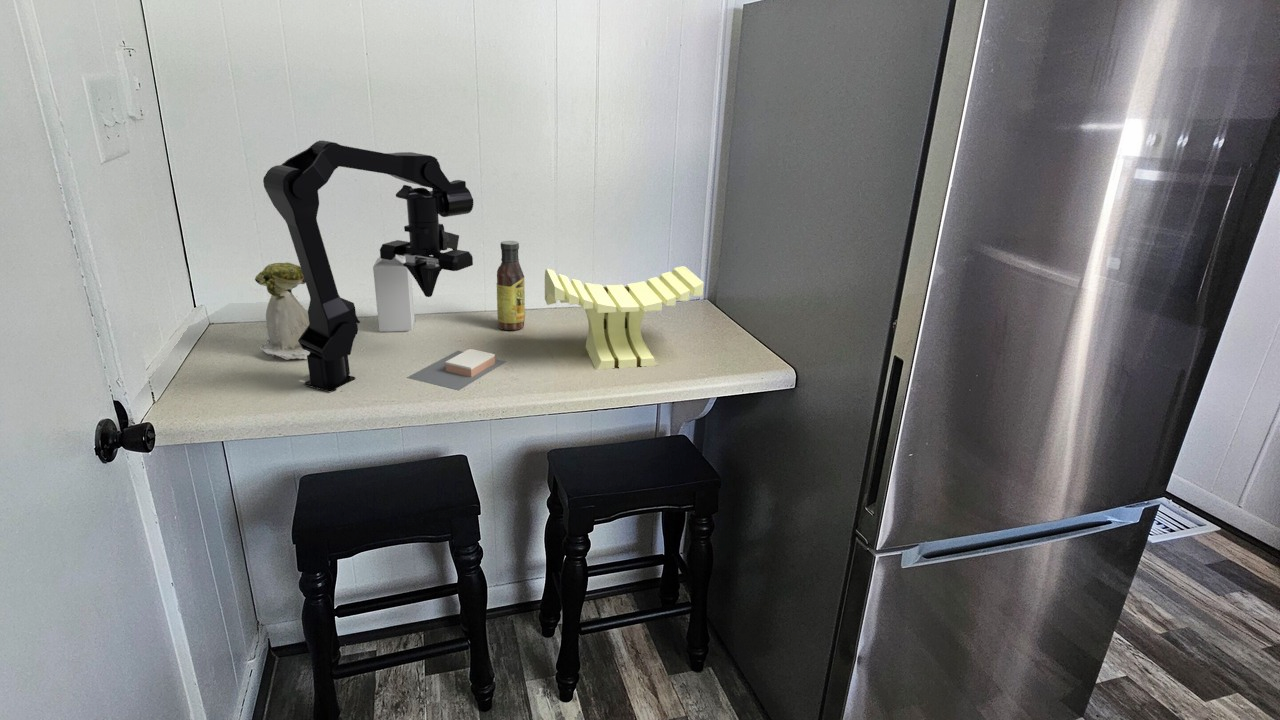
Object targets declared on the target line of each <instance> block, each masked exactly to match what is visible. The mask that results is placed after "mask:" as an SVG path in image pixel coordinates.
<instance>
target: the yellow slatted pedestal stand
mask: <svg viewBox="0 0 1280 720" xmlns="http://www.w3.org/2000/svg"><path fill="white" fill-rule="evenodd" d="M704 286H705V283H704V281H703V280H702V279H700V278H699V277H698V276H697V275H696V274H695V273H693V272H692V271H691V270H690V269H689V268H688V267H686V266H685V265H683V266H682V265H681V266H676V267H674V268H673V270H672V271H666V272H663V273H660V274H659V277H658V276H654V277H651V278H648V279H647V281H643V280H642V281H637V282H632V283H626V285H623V284H605V286H603V285H602V284H597V283H589V282H584V284H583V283H582V281H581V280H579V279H575V278H571V281H570V278H569V277H568V276H567V275H564V274H561V273H559V274H558V276H557V274H556V272H555V270H553V269H551V268H546V269H545V272H544V300H545V303H546V306H549V305H553V304H557V301H559V302H560V303H562V304H563V303H568V305H570V306H571V305H573V306H575V305H576V306H577V305H578V306H580V307H582V308H583V309H584V310H585V315H586V318H587V321H588V322H587V323H588V332H587V337H586V340H585V341H586V342H585V349H586V350H587V354H588V355H589V358H590V360H591V362H592V365H593V366H594V368H595V370H596V369H602V370H613V369H612V368H614V369H615V368H618V367H619V368H620V369H626V368H625V367H640V366H652V365H653V366H654V365H658V363H657V362H656V358H655V357H654V356H653V354H652V353H651V352H650V349H649V348H648V346H647V344H646V343H645V341H644V337H643V336H642V331H641V328H642V327H641V326H642V321H643V319H644V316H645V314H646V313H647V312H656V311H657V312H661V311H662V310H663V304H664V305H665V306H667V307H675V306H676V305H677V304H676V303H677V300H678V301H680V302H689V301H690V294H691V296H693V297H703V296H704ZM619 368H618V369H619Z"/></svg>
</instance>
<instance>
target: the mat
mask: <svg viewBox="0 0 1280 720" xmlns="http://www.w3.org/2000/svg"><path fill="white" fill-rule="evenodd" d="M463 352H464V351H462V350H456V351H455V352H452V353H451V354H449V355H447V356H445V357H443V358H441V359H439V360H438V361H436V362H433V363H432V364H430V365H428V366H426V367H424V368H422V369H419V370H418V371H416V372H415V373H412V374H410V375H409V376H407V377H406V378H407V379H411V380H414V381H419V382H423V383H427V384H430V385H435V386H439V387H443V388H447V389H451V390H457V391H460V390H462V389H464V388H465V387H467V386H468V385H470V384H472V383H474V382H476V381H477V380H479V379H481V378H482V377H483V376H485V375H487V374H489V373H491V372H492V371H493V370H495V369H497V368H499V367H500V366H502V365H504V364H505V363H507V361H506V360H502V359H498V358H495V364H493V365H491V366H490V367H488V368H486V369H485V370H483V371H481V372H480V373H478V374H476V375H475V376H473V377H468V376H464V375H460V374H455V373H451V372H447V371H446V365H445V362H446V361H448V360H450V359H452V358H453V357H455V356H457V355H459V354H461V353H463Z"/></svg>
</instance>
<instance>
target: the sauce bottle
mask: <svg viewBox="0 0 1280 720" xmlns="http://www.w3.org/2000/svg"><path fill="white" fill-rule="evenodd" d="M519 248H520V243H519V242H518V241H516V240H503V241H501V242H500V250H501V263H500V265H499V266H498V268H497V271H496V281H497V282H496V306H497V307H496V309H497V311H496V314H497V325H498V328H500V329H501V330H504V331H517V330H520V329H522V328H524V327H525V320H526V310H525V309H526V307H525V305H526V302H525V301H526V300H525V299H526V295H525V293H526V292H525V275H524V272H523V270H522V267H521V265H520V262H519V261H520V259H519Z"/></svg>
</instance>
